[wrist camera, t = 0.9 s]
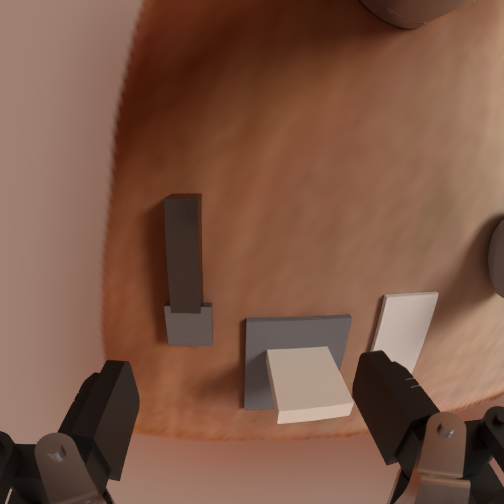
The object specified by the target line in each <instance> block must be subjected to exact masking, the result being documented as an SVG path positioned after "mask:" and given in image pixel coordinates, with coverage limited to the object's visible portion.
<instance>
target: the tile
mask: <svg viewBox="0 0 504 504" xmlns="http://www.w3.org/2000/svg"><path fill="white" fill-rule="evenodd" d="M266 365H267V371H268V376H269V382H270V387H271V393H272V398H273V404H274V409H275V415H276V420H277V424H282V423H294V422H304V421H313V420H321V419H329V418H336V417H342V416H348V415H350V412H351V409H352V407H353V404H354V402H353V399H352V397H351V395H350V393H349V391H348V389H347V387H346V385H345V382H344V380H343V378H342V376H341V374H340V372H339V370H338V368H337V366H336V364H335V361H334V359H333V357H332V355H331V353H330V351H329V349H328V347H327V346H326V347H312V348H295V349H272V350H267V356H266Z"/></svg>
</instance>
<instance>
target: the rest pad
mask: <svg viewBox="0 0 504 504" xmlns="http://www.w3.org/2000/svg"><path fill="white" fill-rule="evenodd" d="M438 295H439V293H438V292H436V291H432V292H418V293H404V294H388V295H384V299H383V303H382V307H381V312H380V316H379V320H378V324H377V328H376V332H375V335H374V339H373V343H372V346H371V350H370V352H372V351H378V350H382V351H384V352H385V353H386V355H387V356H388V357H389V359H390V360H391V361H392V362H393V361H396V362H398V363H399V364H401V365H402V366H404V367H405V368H407V370H408V371H409V372H410V373H411V374H412V372H413V369H414V367H415V364H416V362H417V359H418V356H419V354H420V351H421V348H422V346H423V343H424V340H425V337H426V334H427V331H428V328H429V325H430V322H431V319H432V316H433V312H434V309H435V306H436V302H437V299H438Z"/></svg>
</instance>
